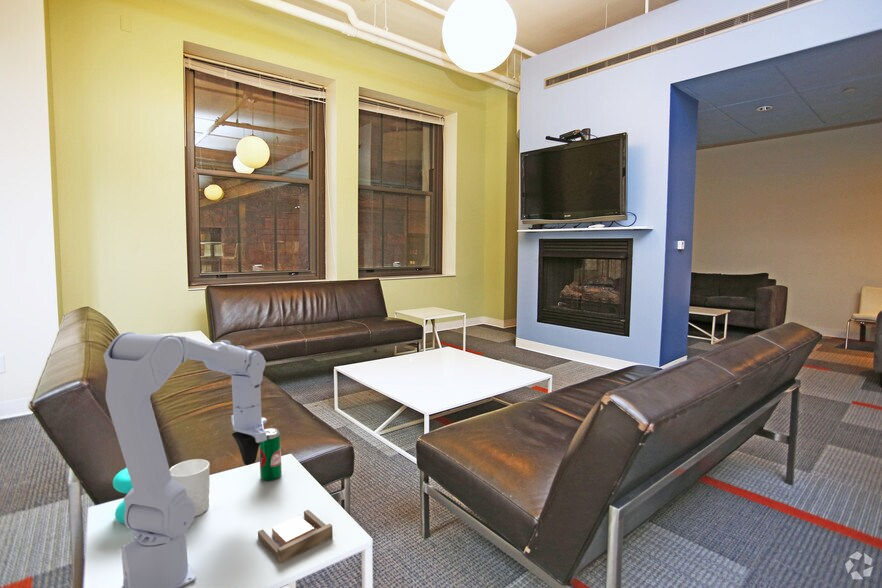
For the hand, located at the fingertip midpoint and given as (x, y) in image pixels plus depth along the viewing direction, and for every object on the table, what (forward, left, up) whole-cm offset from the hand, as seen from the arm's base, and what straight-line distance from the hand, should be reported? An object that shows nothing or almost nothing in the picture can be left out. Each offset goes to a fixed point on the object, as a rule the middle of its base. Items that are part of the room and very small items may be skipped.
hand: (249, 462), depth 102 cm
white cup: (-10, +8, -11) cm, 17 cm away
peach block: (+2, -16, -11) cm, 19 cm away
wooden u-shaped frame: (+2, -16, -10) cm, 19 cm away
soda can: (+9, +10, -11) cm, 17 cm away
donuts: (-18, +14, -11) cm, 25 cm away
